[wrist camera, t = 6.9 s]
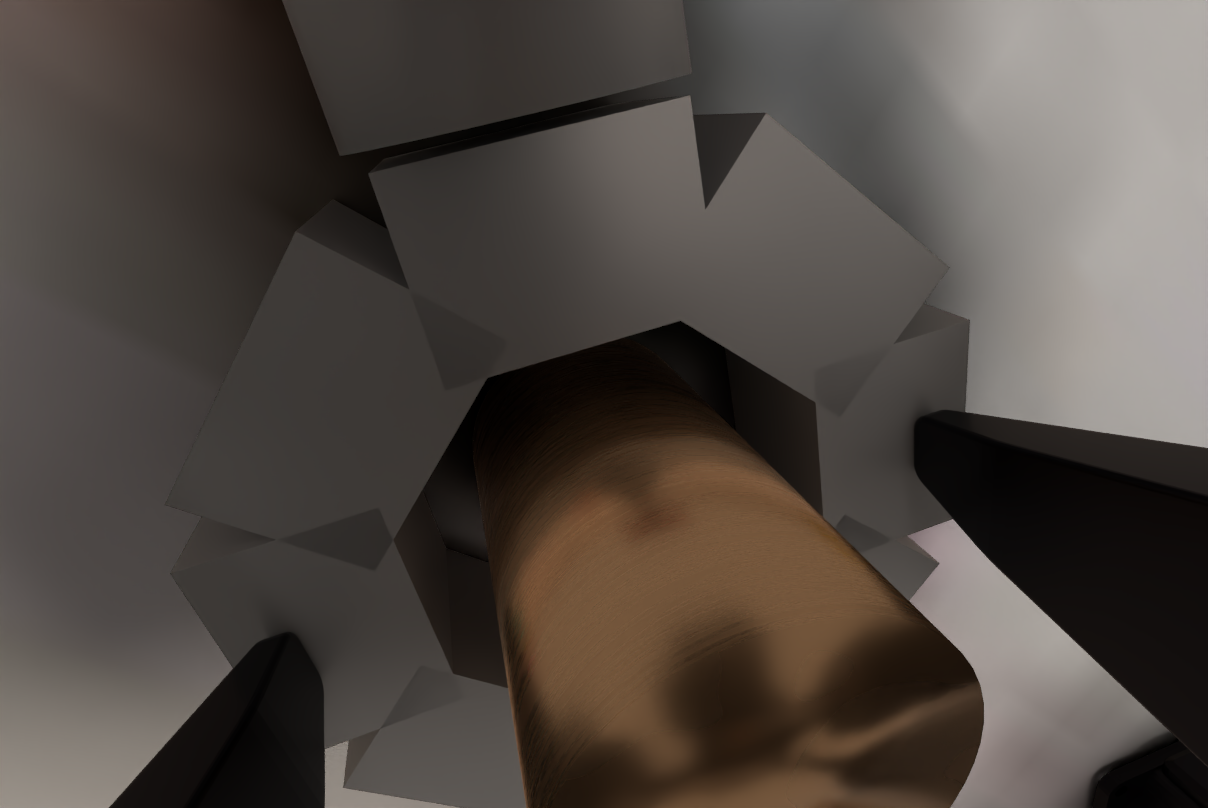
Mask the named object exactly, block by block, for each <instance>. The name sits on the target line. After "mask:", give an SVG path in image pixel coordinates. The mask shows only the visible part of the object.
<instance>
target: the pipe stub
mask: <svg viewBox="0 0 1208 808" xmlns="http://www.w3.org/2000/svg"><path fill="white" fill-rule="evenodd" d="M472 451H473V460H474V467H475V474H476V480H477V487H478V493H479V500H480V507H481V513H482V520H483V526H484V533H485V539H486V546H487V553H488V559H489V566H490V572H491V579H492V585H493V592H494V599H495V605H496V612H497V618H498V625H499V631H500V638H501V645H502V651H503V658H504V664H505V671H506V678H507V684H508V691H509V697H510V704H511V710H512V717H513V724H514V730H515V737H516V743H517V750H518V756H519V763H520V770H521V776H522V783H523V789H524V796H525V803H526V808H950V807H951V805H952V804H953V802H954V801H955V799H956V797H957V796H958V794H959V792H960V790H961V789H962V787H963V785H964V784H965V782H966V780H967V777H968V775H969V773H970V771H971V769H972V766H973V764H974V762H975V758H976V755H977V752H978V749H979V746H980V742H981V737H982V731H983V725H984V702H983V697H982V692H981V687H980V684H979V681H978V679H977V677H976V674H975V672H974V670H973V668H972V666H971V665H970V664H969V662H968V661H967V659H966V658H965V657H964V655H963V654H962V653H961V652H960V651H959V650H958V649H957V648H956V647H955V646H954V645H953V644H952V643H951V642H950V641H949V640H948V639H947V638H946V637H945V636H944V635H943V634H942V633H941V632H940V631H939V630H938V629H937V628H936V627H935V626H934V625H933V624H932V623H931V622H930V621H929V620H928V619H927V618H926V617H925V616H924V615H923V614H922V613H921V612H919V611H918V610H917V609H916V608H915V607H914V606H913V605H912V604H911V603H910V602H909V601H908V600H907V599H906V598H905V597H904V596H903V595H902V594H901V593H900V592H899V591H898V590H897V589H896V588H895V587H894V586H893V585H892V584H891V583H890V582H889V581H888V580H887V579H886V578H885V577H884V576H883V575H882V574H881V573H880V572H879V571H878V570H877V569H876V568H875V567H874V566H873V565H872V564H871V563H870V562H869V561H868V560H866V559H865V558H864V557H863V556H862V555H861V554H860V553H859V552H858V551H857V550H856V549H855V548H854V547H853V546H852V545H851V544H850V543H849V542H848V541H847V540H846V539H845V538H844V537H843V536H842V535H841V534H840V533H839V532H838V531H837V530H836V529H835V528H834V527H833V526H832V525H831V524H830V523H829V522H828V521H827V520H826V519H825V518H824V517H823V516H822V515H821V514H820V513H819V512H818V511H817V510H816V509H815V508H813V507H812V506H811V505H810V504H809V503H808V502H807V501H806V500H805V499H804V498H803V497H802V496H801V495H800V494H799V493H798V492H797V491H796V490H795V489H794V488H793V487H792V486H791V485H790V484H789V483H788V482H787V481H786V480H785V479H784V478H783V477H782V476H781V475H780V474H779V473H778V472H777V471H776V470H775V469H774V468H773V467H772V466H771V465H770V464H769V463H768V462H767V461H766V460H765V459H764V458H763V457H761V456H760V455H759V454H758V453H757V452H756V451H755V450H754V449H753V448H752V447H751V446H750V445H749V444H748V443H747V442H746V441H745V440H744V439H743V438H742V437H741V436H740V435H739V434H738V433H737V432H736V431H735V430H734V429H733V428H732V427H731V426H730V425H729V424H728V423H727V422H726V421H725V420H724V419H723V418H722V417H721V416H720V415H719V414H718V413H717V412H716V411H715V410H714V409H713V408H712V407H711V406H710V405H708V404H707V403H706V402H705V401H704V400H703V399H702V398H701V397H700V396H699V395H698V394H697V393H696V392H695V391H694V390H693V389H692V388H691V387H690V386H689V385H688V384H687V383H686V382H685V381H684V380H683V379H682V378H681V377H680V376H679V375H678V374H677V373H676V372H675V371H674V370H673V369H672V368H671V367H670V366H669V365H668V364H667V363H666V362H665V361H663V360H662V359H661V358H660V357H659V356H658V355H657V354H656V353H654V352H653V351H651V350H650V349H648V348H647V347H645V346H643V345H641V344H639V343H637V342H635V341H632V340H629V339H626V338H620V339H617V340H614V341H610V342H607V343H603V344H600V345H597V346H593V347H590V348H586V349H583V350H580V351H576V352H573V353H570V354H566V355H563V356H559V357H556V358H553V359H549V360H546V361H543V362H539V363H536V364H532V365H529V366H526V367H522V368H519V369H515V370H512V371H509V372H505V373H502V374H501V375H500V376H499V378H498V379H497V380H496V381H495V382H494V384H493V385H492V387H491V388H490V390H489V391H488V393H487V394H486V396H485V398H484V400H483V402H482V404H481V406H480V408H479V411H478V414H477V417H476V420H475V425H474V431H473V441H472Z"/></svg>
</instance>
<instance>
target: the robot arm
mask: <svg viewBox="0 0 1208 808" xmlns="http://www.w3.org/2000/svg"><path fill="white" fill-rule="evenodd" d="M914 468H915V472H916V474H917V476H918V478H919V480H920V481H921V482H922V484H923V485H924V486H925V487H926V488H927V489H928V491H929V492H930V493H931V494H932V495H933V496H934V497H935V499H936V500H937V501H938V502H939V503H940V504H941V506H942V507H943V508H944V509H945V510H946V511H947V512H948V514H949V515H950V516H951V517H952V518H953V519H954V521H955V522H956V523H957V524H958V525H959V526H960V527H961V529H962V530H963V531H964V532H965V533H966V534H967V536H968V537H969V538H970V539H971V540H972V541H973V542H974V544H975V545H976V546H977V547H978V548H979V549H980V550H981V551H982V552H983V553H984V555H985V556H986V557H987V558H988V559H989V560H990V561H991V562H992V563H993V564H994V565H995V566H996V567H997V568H998V569H999V570H1000V571H1001V572H1002V573H1003V574H1004V575H1006V576H1007V577H1008V578H1009V579H1010V580H1011V581H1012V582H1013V583H1014V584H1015V585H1016V586H1017V587H1018V588H1019V589H1020V590H1021V591H1022V592H1023V593H1025V594H1026V595H1027V596H1028V597H1029V598H1030V599H1031V600H1032V601H1033V602H1034V603H1035V604H1036V605H1037V606H1038V607H1039V608H1040V609H1041V610H1042V611H1043V612H1045V613H1046V614H1047V615H1048V616H1049V617H1050V618H1051V619H1052V620H1053V621H1054V622H1055V623H1056V624H1057V625H1058V626H1059V627H1060V628H1061V629H1062V630H1064V631H1065V632H1066V633H1067V634H1068V635H1069V636H1070V637H1071V638H1072V639H1073V640H1074V641H1075V642H1076V643H1077V644H1078V645H1079V646H1080V647H1081V648H1083V649H1084V650H1085V651H1086V652H1087V653H1088V654H1089V655H1090V656H1091V657H1092V658H1093V659H1094V660H1095V661H1096V662H1097V663H1098V664H1099V665H1100V666H1101V667H1103V668H1104V669H1105V670H1106V671H1107V672H1108V673H1109V674H1110V675H1111V676H1112V677H1113V678H1114V679H1115V680H1116V681H1117V682H1118V683H1119V684H1120V685H1122V686H1123V687H1124V688H1125V689H1126V690H1127V691H1128V692H1129V693H1130V694H1131V695H1132V696H1133V697H1134V698H1135V699H1136V700H1137V701H1138V702H1139V703H1141V704H1142V705H1143V706H1144V707H1145V708H1146V709H1147V710H1148V711H1149V712H1150V713H1151V714H1152V715H1153V716H1154V717H1155V718H1156V719H1157V720H1158V721H1160V722H1161V723H1162V724H1163V725H1164V726H1165V727H1166V728H1167V729H1168V730H1169V731H1170V732H1171V733H1172V734H1173V735H1174V736H1175V737H1176V738H1177V739H1178V740H1180V741H1178V742H1175V743H1173V744H1171V745H1169V746H1167V747H1164V748H1162V749H1160V750H1158V751H1155V752H1153V753H1151V754H1149V755H1146V756H1144V757H1142V758H1140V759H1138V760H1135V761H1133V762H1131V763H1129V764H1126V765H1124V766H1122V767H1120V768H1117V769H1115V770H1113V771H1111V772H1109V773H1108V774H1106V775H1105V776H1104V777H1103V778H1102V779H1101V780H1100V781H1099V783H1098V785H1097V790H1096V794H1095V799H1094V803H1093V808H1208V448H1204V447H1197V446H1190V445H1183V444H1177V443H1170V442H1163V441H1156V440H1150V439H1143V438H1136V437H1129V436H1122V435H1116V434H1109V433H1102V432H1095V431H1089V430H1082V429H1075V428H1068V427H1062V426H1055V425H1048V424H1041V423H1034V422H1028V421H1021V420H1014V419H1007V418H1001V417H994V416H987V415H980V414H974V413H967V412H960V411H953V410H939V411H936V412H933V413H930V414H927V415H924V416H921V417H920V418H918V419H917V421H916V423H915V425H914ZM109 808H325V745H324V688H323V683H322V679H321V676H320V674H319V672H318V670H317V669H316V667H315V665H314V664H313V662H312V660H311V658H310V657H309V655H308V653H307V652H306V650H305V648H304V646H303V645H302V643H301V641H300V640H299V638H298V637H297V636H296V635H295V634H294V633H292V632H284V633H281V634H278V635H275V636H272V637H269V638H266V639H263V640H260V641H259V642H257V643H256V644H255V645H254V646H253V647H252V648H251V649H250V650H249V651H248V652H247V654H246V655H245V656H244V657H243V658H242V659H241V660H240V661H239V662H238V664H237V665H236V666H235V667H234V668H233V669H232V670H231V671H230V673H229V674H228V675H227V676H226V677H225V678H224V679H223V680H222V682H221V683H220V684H219V685H218V686H217V687H216V688H215V689H214V691H213V692H212V693H211V694H210V695H209V696H208V697H207V698H206V700H205V701H204V702H203V703H202V704H201V705H200V706H199V707H198V708H197V710H196V711H195V712H194V713H193V714H192V715H191V716H190V717H189V719H188V720H187V721H186V722H185V723H184V724H183V725H182V726H181V728H180V729H179V730H178V731H177V732H176V733H175V734H174V735H173V737H172V738H171V739H170V740H169V741H168V742H167V743H166V744H165V745H164V747H163V748H162V749H161V750H160V751H159V752H158V753H157V754H156V756H155V757H154V758H153V759H152V760H151V761H150V762H149V763H148V765H147V766H146V767H145V768H144V769H143V770H142V771H141V772H140V773H139V775H138V776H137V777H136V778H135V779H134V780H133V781H132V782H131V784H130V785H129V786H128V787H127V788H126V789H125V790H124V791H123V793H122V794H121V795H120V796H119V797H118V798H117V799H116V800H115V802H114V803H113V804H112V805H111V806H110V807H109Z"/></svg>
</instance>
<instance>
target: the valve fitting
mask: <svg viewBox="0 0 1208 808" xmlns="http://www.w3.org/2000/svg"><path fill="white" fill-rule="evenodd" d="M282 1H283V4H284V7H285V9H286V12H287V15H288V18H289V20H290V23H291V26H292V28H293V31H294V34H295V36H296V39H297V42H298V45H299V47H300V50H301V53H302V55H303V58H304V61H305V63H306V66H307V69H308V72H309V74H310V77H311V80H312V82H313V85H314V88H315V90H316V93H317V96H318V99H319V101H320V104H321V107H322V109H323V112H324V115H325V117H326V120H327V123H328V126H329V128H330V131H331V134H332V136H333V139H334V142H335V144H336V147H337V150H338V153H339V155H340V156H343V155H349V154H354V153H359V152H364V151H369V150H374V149H379V148H383V147H388V146H393V145H397V144H402V143H406V142H411V141H415V140H420V139H424V138H429V137H433V136H438V135H442V134H446V133H451V132H455V131H460V130H464V129H468V128H473V127H477V126H481V125H486V124H490V123H494V122H498V121H503V120H507V119H511V118H516V117H520V116H524V115H528V114H533V113H537V112H541V111H545V110H549V109H554V108H558V107H562V106H566V105H570V104H574V103H579V102H583V101H587V100H591V99H595V98H599V97H603V96H607V95H611V94H615V93H619V92H624V91H628V90H632V89H635V88H639V87H643V86H647V85H651V84H655V83H659V82H663V81H667V80H670V79H674V78H678V77H681V76H685V75H688V74H691V73H692V69H691V61H690V54H689V46H688V38H687V31H686V23H685V15H684V8H683V0H282ZM368 175H369V178H370V180H371V183H372V186H373V189H374V192H375V194H376V197H377V200H378V203H379V206H380V209H381V211H382V214H383V217H384V220H385V223H386V225H387V228H388V229H386V228H384V227H382V226H381V225H379V224H377V223H375V222H373V221H372V220H370V219H368V218H366V217H364V216H362V215H361V214H359V213H357V212H355V211H353V210H352V209H350V208H348V207H346V206H344V205H342V204H341V203H339V202H337V201H335V200H331V201H330V202H329V203H328V204H327V205H326V206H324V207H323V208H322V209H321V210H320V211H319V212H317V213H316V214H315V215H314V216H313V217H311V218H310V219H309V220H308V221H307V222H306V223H304V224H303V225H302V226H301V227H300V228H299V229H297V230H296V231H295V233H294V235H293V237H292V239H291V241H290V244H289V246H288V248H287V250H286V252H285V254H284V256H283V258H282V260H281V262H280V264H279V267H278V269H277V271H276V273H275V275H274V277H273V279H272V281H271V283H270V285H269V287H268V290H267V292H266V294H265V296H264V298H263V300H262V302H261V304H260V306H259V308H258V310H257V313H256V315H255V317H254V319H253V321H252V323H251V325H250V327H249V329H248V331H247V334H246V336H245V338H244V340H243V342H242V344H241V346H240V348H239V350H238V352H237V354H236V357H235V359H234V361H233V363H232V365H231V367H230V369H229V371H228V373H227V375H226V377H225V380H224V382H223V384H222V386H221V388H220V390H219V392H218V394H217V396H216V398H215V400H214V403H213V405H212V407H211V409H210V411H209V413H208V415H207V417H206V419H205V421H204V424H203V426H202V428H201V430H200V432H199V434H198V436H197V438H196V440H195V442H194V444H193V447H192V449H191V451H190V453H189V455H188V457H187V459H186V461H185V463H184V465H183V467H182V470H181V472H180V474H179V476H178V478H177V480H176V482H175V484H174V486H173V488H172V490H171V493H170V495H169V497H168V499H167V501H166V503H165V505H167V506H170V507H173V508H176V509H180V510H183V511H186V512H189V513H192V514H195V515H199V516H202V518H201V520H200V521H199V523H198V525H197V527H196V528H195V530H194V532H193V534H192V536H191V537H190V539H189V541H188V543H187V545H186V546H185V548H184V550H183V552H182V554H181V555H180V557H179V559H178V561H177V562H176V564H175V566H174V568H173V570H172V571H171V573H170V574H171V576H172V577H173V579H174V580H175V582H176V583H177V585H178V586H179V588H180V589H181V591H182V592H183V594H184V595H185V597H186V598H187V600H188V601H189V603H190V604H191V606H192V607H193V609H194V610H195V612H196V613H197V615H198V616H199V618H200V619H201V621H202V622H203V624H204V625H205V627H206V628H207V630H208V631H209V633H210V634H211V636H212V637H213V639H214V640H215V642H216V643H217V645H218V646H219V648H220V649H221V651H222V652H223V654H224V655H225V657H226V658H227V660H228V661H229V663H230V664H231V666H232V667H233V668H234V667H235V666H236V665H237V664H238V662H239V661H240V660H241V659H242V658H243V657H244V656H245V655H246V654H247V652H248V651H249V650H250V649H251V648H252V647H253V646H254V645H255V644H256V643H257V642H259V641H260V640H263V639H266V638H269V637H272V636H275V635H278V634H281V633H284V632H292V633H294V634H295V635H296V636H297V637H298V638H299V640H300V641H301V643H302V645H303V646H304V648H305V650H306V652H307V653H308V655H309V657H310V658H311V660H312V662H313V664H314V665H315V667H316V669H317V670H318V672H319V674H320V676H321V679H322V683H323V688H324V745H325V749H326V748H329V747H331V746H334V745H337V744H339V743H342V742H345V741H348V740H349V743H348V751H347V760H346V768H345V777H344V785H343V788H347V789H353V790H359V791H365V792H371V793H377V794H383V795H389V796H395V797H401V798H407V799H413V800H419V801H425V802H431V803H437V804H443V805H449V806H455V807H461V808H526V803H525V796H524V789H523V783H522V776H521V770H520V763H519V756H518V750H517V743H516V737H515V730H514V724H513V717H512V710H511V704H510V697H509V691H508V684H507V678H506V671H505V664H504V658H503V651H502V645H501V638H500V631H499V625H498V618H497V612H496V605H495V599H494V592H493V585H492V579H491V572H490V566H489V563H488V562H485V561H482V560H479V559H476V558H473V557H470V556H467V555H465V554H462V553H459V552H456V551H453V550H450V549H447V548H446V547H445V544H444V542H443V539H442V537H441V535H440V532H439V530H438V527H437V525H436V522H435V520H434V517H433V515H432V512H431V510H430V507H429V505H428V502H427V500H426V498H425V495H424V493H423V488H424V486H425V484H426V483H427V481H428V479H429V478H430V476H431V474H432V472H433V471H434V469H435V467H436V465H437V464H438V462H439V460H440V459H441V457H442V455H443V453H444V452H445V450H446V448H447V447H448V445H449V443H450V441H451V440H452V438H453V436H454V435H455V433H456V431H457V429H458V428H459V426H460V424H461V423H462V421H463V419H464V417H465V416H466V414H467V412H468V410H469V409H470V407H471V405H472V404H473V402H474V400H475V398H476V397H477V395H478V393H479V392H480V390H481V388H482V386H483V385H484V383H485V381H486V380H487V378H488V377H492V376H495V375H499V374H502V373H505V372H509V371H512V370H515V369H519V368H522V367H526V366H529V365H532V364H536V363H539V362H543V361H546V360H549V359H553V358H556V357H559V356H563V355H566V354H570V353H573V352H576V351H580V350H583V349H586V348H590V347H593V346H597V345H600V344H603V343H607V342H610V341H614V340H617V339H620V338H624V337H627V336H630V335H634V334H637V333H641V332H644V331H647V330H651V329H654V328H658V327H661V326H664V325H668V324H671V323H674V322H678V321H682V322H684V323H685V324H687V325H689V326H690V327H692V328H694V329H695V330H697V331H699V332H700V333H702V334H704V335H705V336H707V337H709V338H710V339H712V340H713V341H715V342H717V343H718V344H720V345H722V346H723V347H725V352H726V360H727V367H728V375H729V382H730V390H731V397H732V405H733V412H734V420H735V427H736V432H737V433H738V434H739V435H740V436H741V437H742V438H743V439H744V440H745V441H746V442H747V443H748V444H749V445H750V446H751V447H752V448H753V449H754V450H755V451H756V452H757V453H758V454H759V455H760V456H761V457H763V458H764V459H765V460H766V461H767V462H768V463H769V464H770V465H771V466H772V467H773V468H774V469H775V470H776V471H777V472H778V473H779V474H780V475H781V476H782V477H783V478H784V479H785V480H786V481H787V482H788V483H789V484H790V485H791V486H792V487H793V488H794V489H795V490H796V491H797V492H798V493H799V494H800V495H801V496H802V497H803V498H804V499H805V500H806V501H807V502H808V503H809V504H810V505H811V506H812V507H813V508H815V509H816V510H817V511H818V512H819V513H820V514H821V515H822V516H823V517H824V518H825V519H826V520H827V521H828V522H829V523H830V524H831V525H832V526H833V527H834V528H835V529H836V530H837V531H838V532H839V533H840V534H841V535H842V536H843V537H844V538H845V539H846V540H847V541H848V542H849V543H850V544H851V545H852V546H853V547H854V548H855V549H856V550H857V551H858V552H859V553H860V554H861V555H862V556H863V557H864V558H865V559H866V560H868V561H869V562H870V563H871V564H872V565H873V566H874V567H875V568H876V569H877V570H878V571H879V572H880V573H881V574H882V575H883V576H884V577H885V578H886V579H887V580H888V581H889V582H890V583H891V584H892V585H893V586H894V587H895V588H896V589H897V590H898V591H899V592H900V593H901V594H902V595H903V596H904V597H905V598H906V599H907V600H908V601H909V600H910V599H911V597H912V596H913V595H914V594H915V593H916V591H917V590H918V589H919V588H920V587H921V585H922V584H923V583H924V582H925V580H926V579H927V578H928V577H929V576H930V574H931V573H932V572H933V571H934V569H935V568H936V567H937V566H938V565H939V562H937V561H936V560H935V559H934V558H933V557H931V556H930V555H929V554H928V553H927V552H926V551H924V550H923V549H922V548H921V547H920V546H919V545H917V544H916V543H915V542H914V541H913V540H911V539H910V538H909V537H908V536H907V535H910V534H913V533H915V532H918V531H921V530H924V529H926V528H929V527H932V526H934V525H937V524H940V523H943V522H945V521H948V520H951V519H953V518H952V517H951V516H950V515H949V514H948V512H947V511H946V510H945V509H944V508H943V507H942V506H941V504H940V503H939V502H938V501H937V500H936V499H935V497H934V496H933V495H932V494H931V493H930V492H929V491H928V489H927V488H926V487H925V486H924V485H923V484H922V482H921V481H920V480H919V478H918V476H917V474H916V472H915V468H914V425H915V423H916V421H917V419H918V418H920V417H921V416H924V415H927V414H930V413H933V412H936V411H939V410H953V411H960V412H965V404H966V384H967V364H968V344H969V324H970V320H968V319H965V318H963V317H960V316H957V315H954V314H951V313H949V312H946V311H943V310H940V309H937V308H935V307H932V306H929V305H926V304H924V302H925V300H926V299H927V298H928V296H929V295H930V294H931V292H932V291H933V290H934V288H935V287H936V285H937V284H938V283H939V281H940V280H941V279H942V277H943V276H944V275H945V273H946V272H947V270H948V269H949V268H950V267H949V266H947V265H946V264H945V263H944V262H943V261H941V260H940V259H939V258H938V257H937V256H936V255H934V254H933V253H932V252H931V251H930V250H928V249H927V248H926V247H925V246H924V245H922V244H921V243H920V242H919V241H918V240H917V239H915V238H914V237H913V236H912V235H911V234H909V233H908V232H907V231H906V230H905V229H903V228H902V227H901V226H900V225H899V224H898V223H896V222H895V221H894V220H893V219H892V218H890V217H889V216H888V215H887V214H886V213H885V212H883V211H882V210H881V209H880V208H879V207H877V206H876V205H875V204H874V203H873V202H871V201H870V200H869V199H868V198H867V197H866V196H864V195H863V194H862V193H861V192H860V191H858V190H857V189H856V188H855V187H854V186H852V185H851V184H850V183H849V182H848V181H847V180H845V179H844V178H843V177H842V176H841V175H839V174H838V173H837V172H836V171H835V170H834V169H832V168H831V167H830V166H829V165H828V164H826V163H825V162H824V161H823V160H822V159H820V158H819V157H818V156H817V155H816V154H815V153H813V152H812V151H811V150H810V149H809V148H807V147H806V146H805V145H804V144H803V143H801V142H800V141H799V140H798V139H797V138H796V137H794V136H793V135H792V134H791V133H790V132H788V131H787V130H786V129H785V128H784V127H783V126H781V125H780V124H779V123H778V122H777V121H775V120H774V119H773V118H772V117H771V116H769V115H768V114H767V113H744V114H713V115H693V113H692V106H691V98H690V95H689V96H680V97H670V98H661V99H651V100H642V101H632V102H623V103H614V104H610V105H606V106H601V107H597V108H593V109H589V110H585V111H581V112H576V113H572V114H568V115H564V116H560V117H556V118H551V119H547V120H543V121H539V122H535V123H531V124H526V125H522V126H518V127H514V128H510V129H506V130H502V131H497V132H493V133H489V134H485V135H481V136H477V137H472V138H468V139H464V140H460V141H456V142H452V143H447V144H443V145H439V146H435V147H431V148H427V149H422V150H418V151H414V152H410V153H406V154H402V155H397V156H393V157H389V158H385V159H383V160H382V161H381V162H380V163H379V164H378V165H377V166H376V167H375V168H374V169H372V170H371V171H370V172H369V173H368Z"/></svg>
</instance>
